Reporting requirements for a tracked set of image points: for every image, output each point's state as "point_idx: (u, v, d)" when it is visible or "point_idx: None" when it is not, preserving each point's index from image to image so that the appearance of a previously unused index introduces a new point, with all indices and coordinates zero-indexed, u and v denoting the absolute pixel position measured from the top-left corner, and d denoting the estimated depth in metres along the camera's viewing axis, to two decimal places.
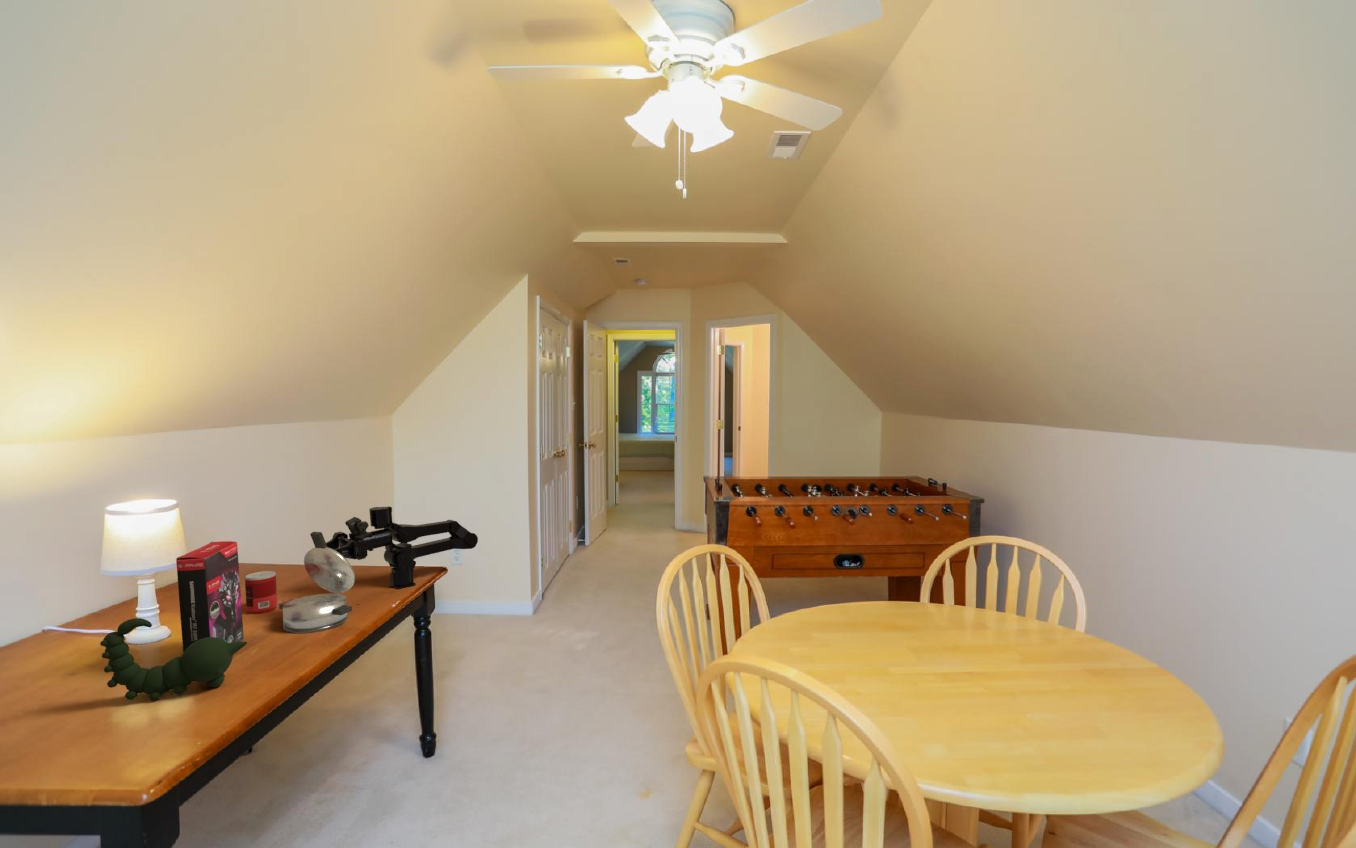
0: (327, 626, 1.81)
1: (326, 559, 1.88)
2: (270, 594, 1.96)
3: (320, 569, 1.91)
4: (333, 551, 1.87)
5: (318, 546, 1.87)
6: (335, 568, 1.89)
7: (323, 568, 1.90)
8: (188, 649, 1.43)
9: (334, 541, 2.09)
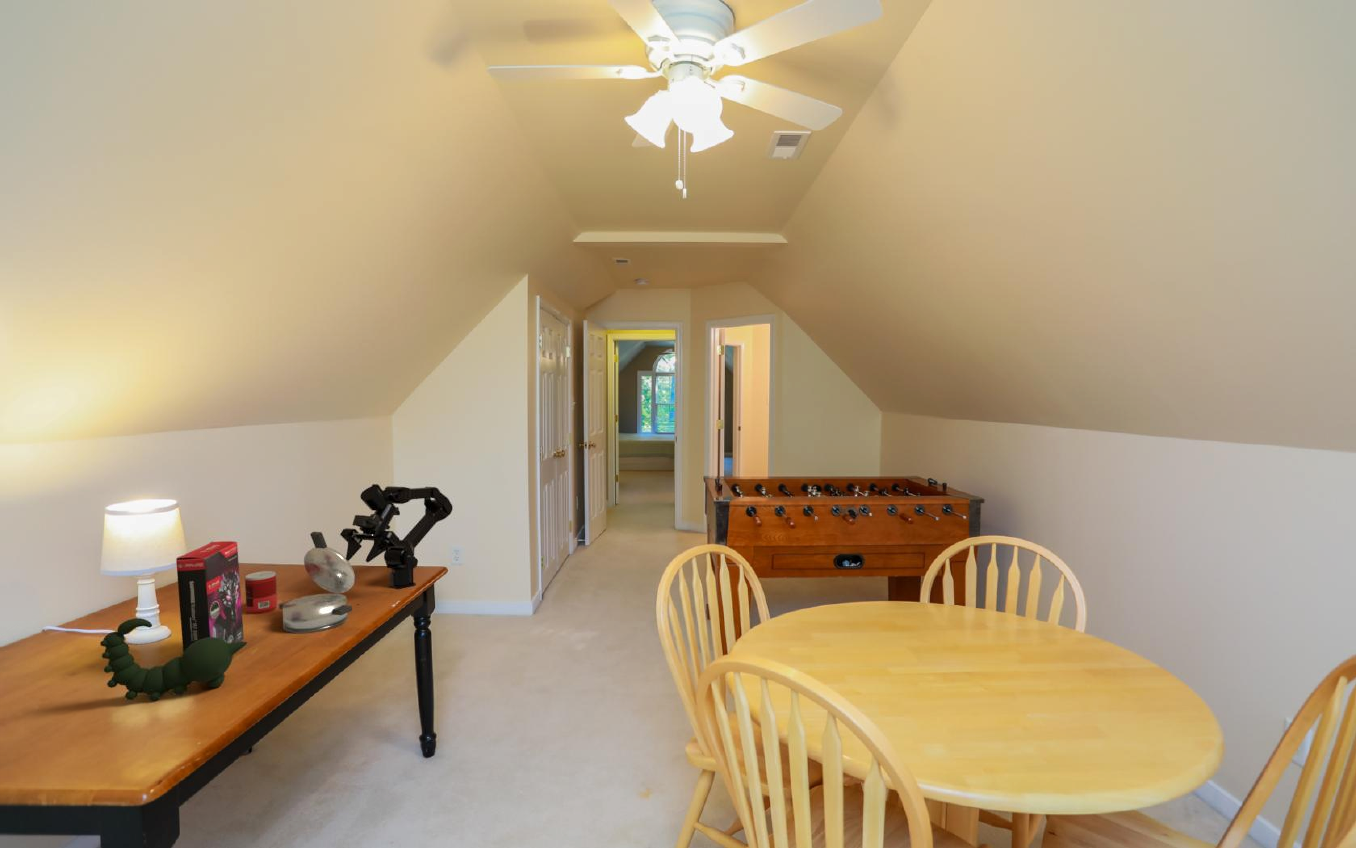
0: (327, 626, 1.81)
1: (326, 559, 1.88)
2: (270, 594, 1.96)
3: (320, 569, 1.91)
4: (333, 551, 1.87)
5: (318, 546, 1.87)
6: (335, 568, 1.89)
7: (323, 568, 1.90)
8: (188, 649, 1.43)
9: (353, 542, 2.05)
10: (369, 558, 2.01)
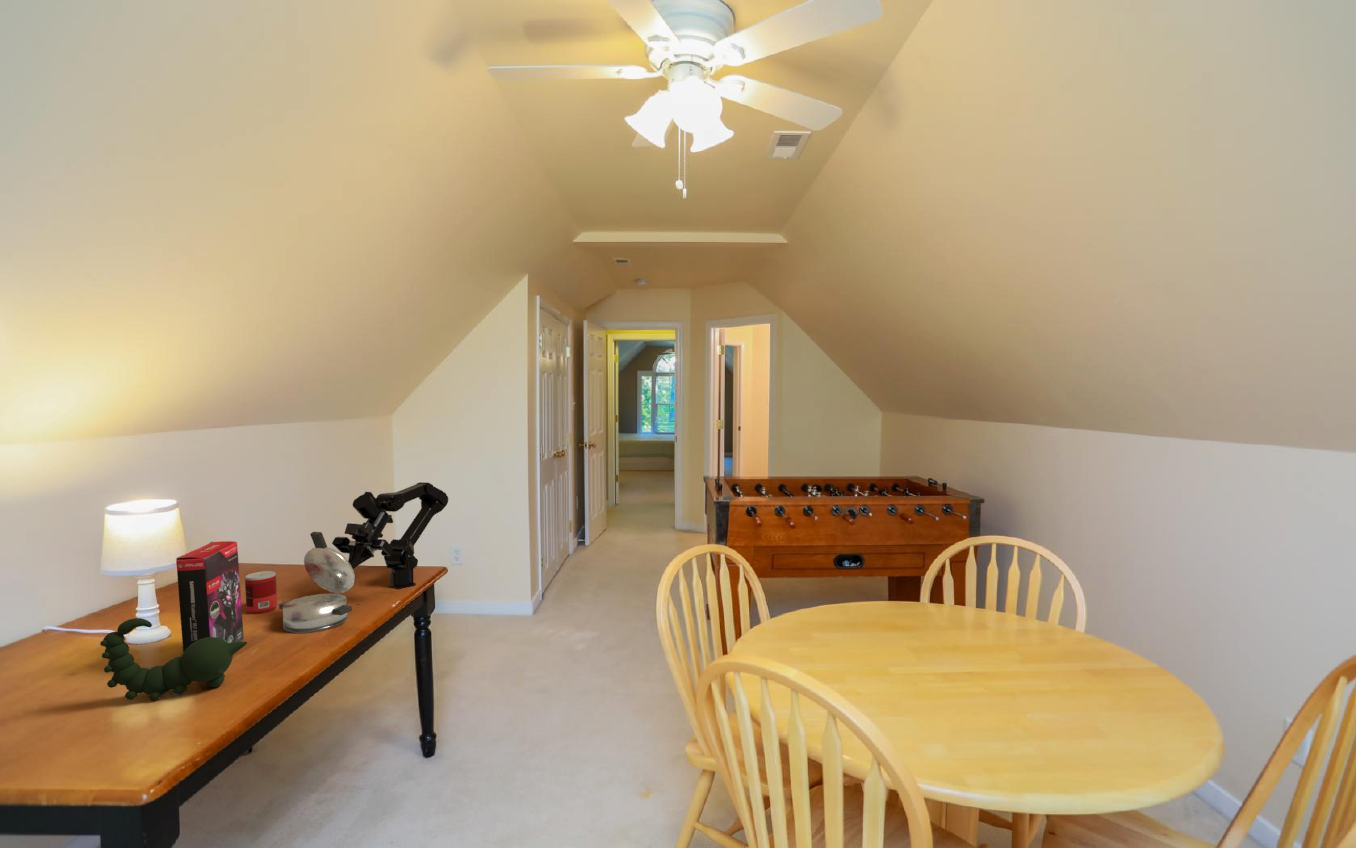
0: (327, 626, 1.81)
1: (326, 559, 1.88)
2: (270, 594, 1.96)
3: (320, 569, 1.91)
4: (333, 551, 1.87)
5: (318, 546, 1.87)
6: (335, 568, 1.89)
7: (323, 568, 1.90)
8: (188, 649, 1.42)
9: (354, 551, 2.01)
10: (352, 566, 1.98)
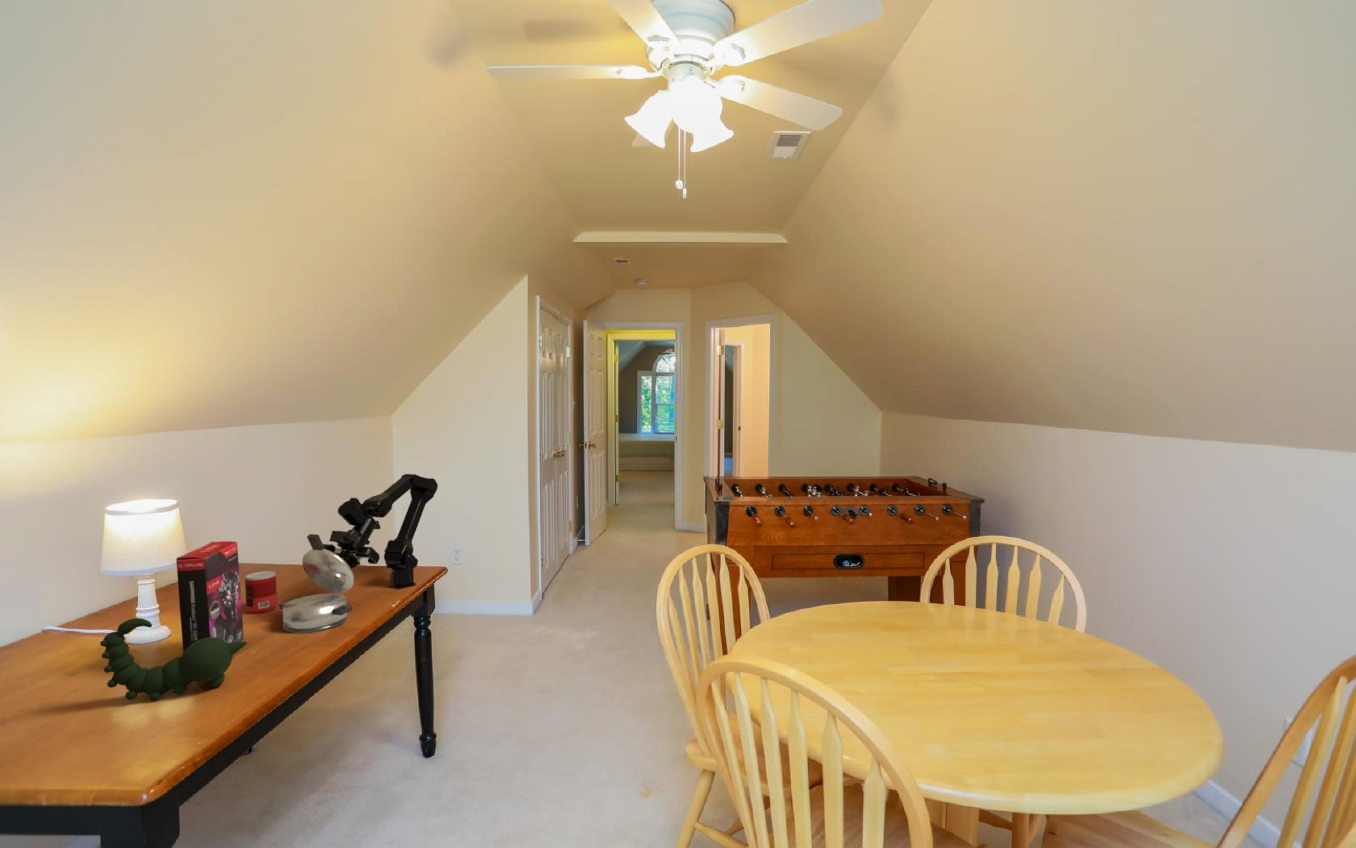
0: (327, 626, 1.81)
1: (324, 561, 1.87)
2: (270, 594, 1.96)
3: (319, 571, 1.90)
4: (331, 553, 1.86)
5: (315, 548, 1.86)
6: (334, 569, 1.88)
7: (322, 570, 1.90)
8: (188, 649, 1.43)
9: None
10: None
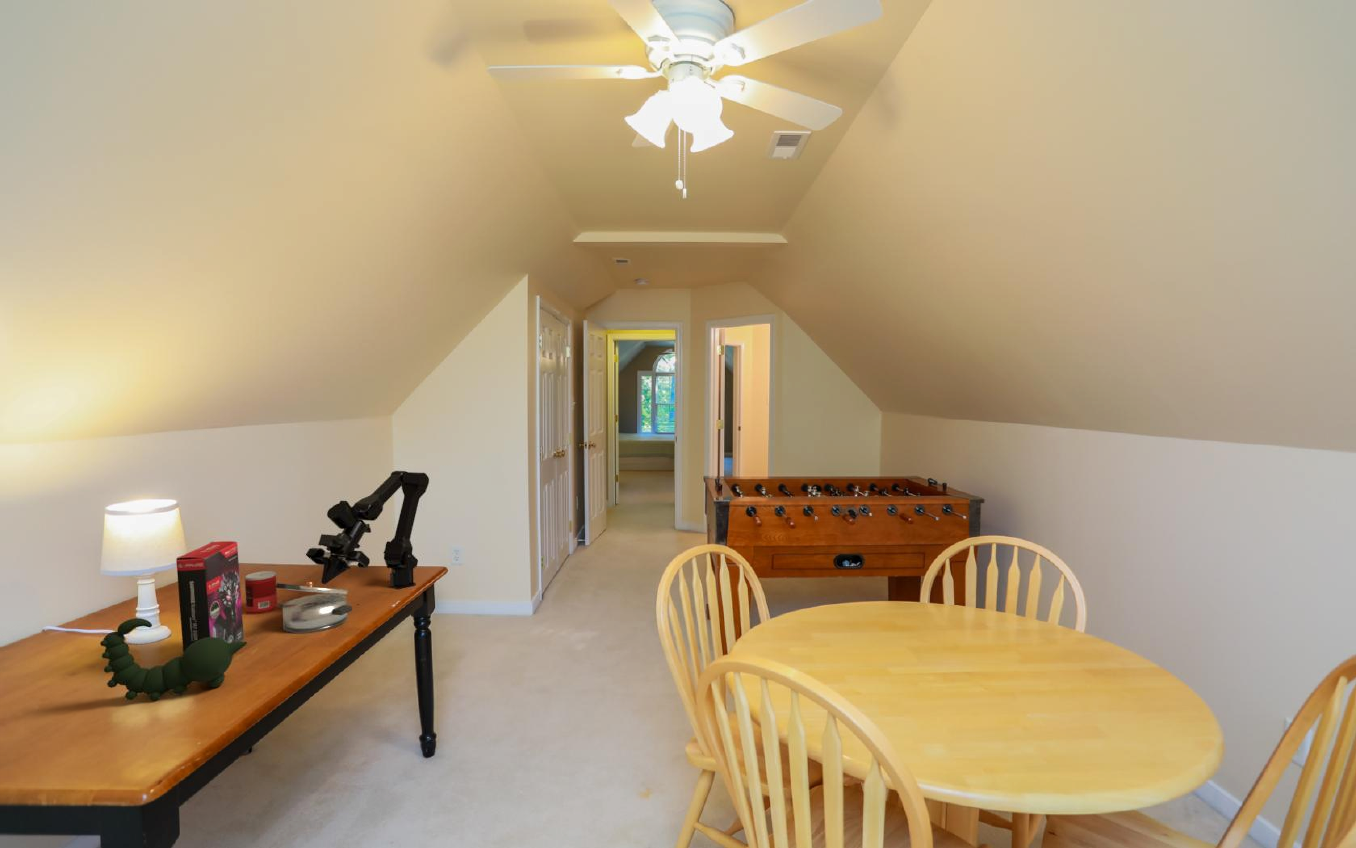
0: (327, 626, 1.81)
1: None
2: (270, 594, 1.96)
3: None
4: (309, 589, 1.79)
5: (291, 589, 1.78)
6: None
7: None
8: (188, 649, 1.43)
9: (329, 564, 1.91)
10: (326, 580, 1.89)
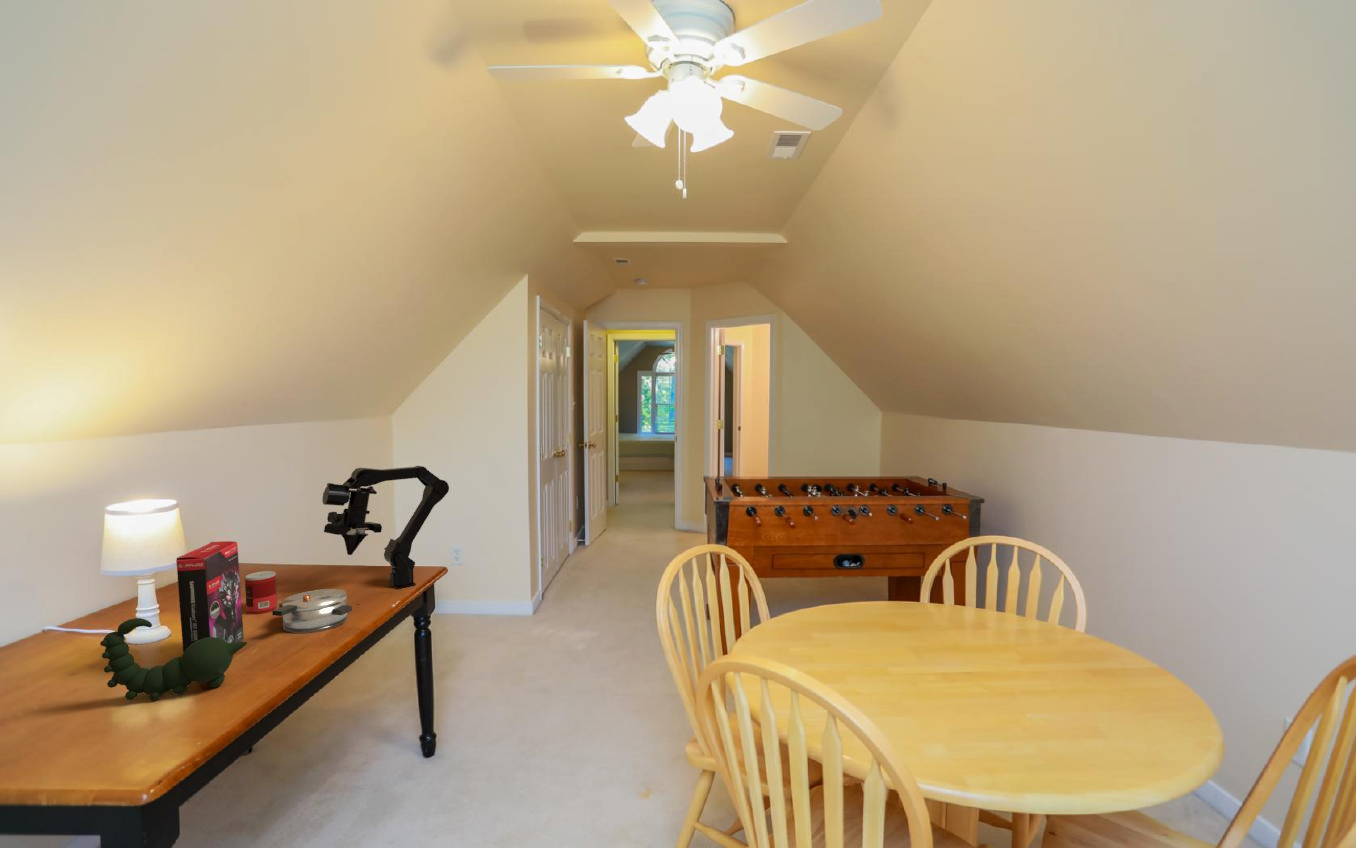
0: (327, 626, 1.81)
1: None
2: (270, 594, 1.96)
3: None
4: (307, 608, 1.78)
5: None
6: None
7: None
8: (188, 649, 1.43)
9: None
10: (348, 551, 2.09)
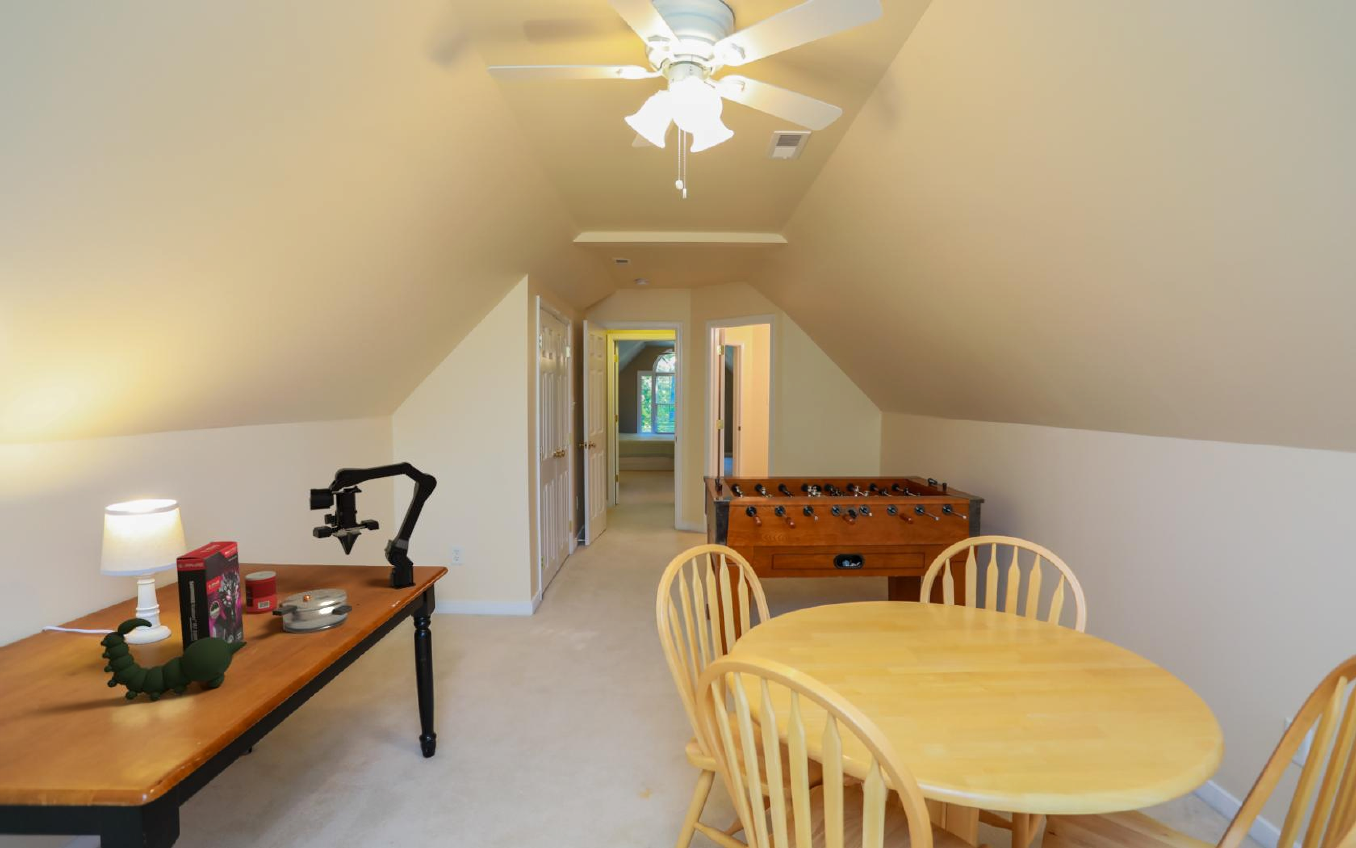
0: (327, 626, 1.81)
1: None
2: (270, 594, 1.96)
3: None
4: (307, 608, 1.78)
5: None
6: None
7: None
8: (188, 649, 1.43)
9: (347, 536, 2.13)
10: (345, 551, 2.12)
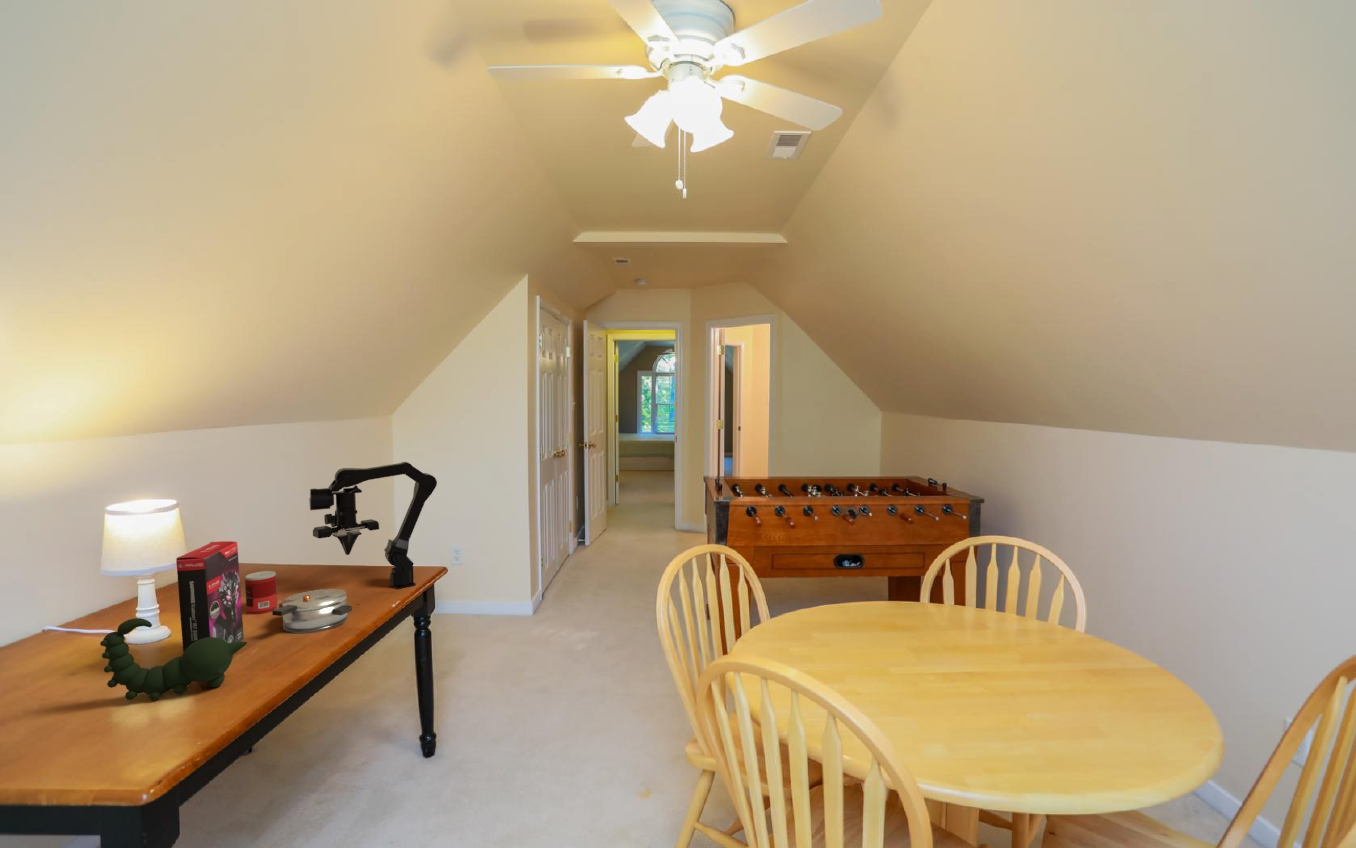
0: (327, 626, 1.81)
1: None
2: (270, 594, 1.96)
3: None
4: (307, 608, 1.78)
5: None
6: None
7: None
8: (188, 649, 1.43)
9: (347, 536, 2.13)
10: (345, 551, 2.12)
